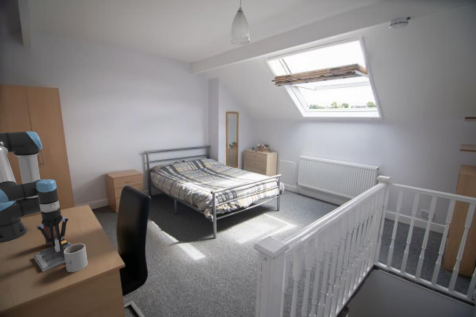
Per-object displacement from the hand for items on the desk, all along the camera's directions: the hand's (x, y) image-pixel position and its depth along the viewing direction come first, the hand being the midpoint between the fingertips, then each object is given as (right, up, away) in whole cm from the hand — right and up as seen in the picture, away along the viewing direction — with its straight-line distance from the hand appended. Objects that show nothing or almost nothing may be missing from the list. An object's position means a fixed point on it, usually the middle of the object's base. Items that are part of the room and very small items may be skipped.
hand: (57, 250), depth 117 cm
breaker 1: (-3, -1, +6) cm, 7 cm away
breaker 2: (+6, -2, 0) cm, 6 cm away
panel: (0, -3, 0) cm, 3 cm away
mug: (+14, -5, -5) cm, 16 cm away
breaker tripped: (+2, -1, +3) cm, 3 cm away
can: (-12, -1, +11) cm, 17 cm away
